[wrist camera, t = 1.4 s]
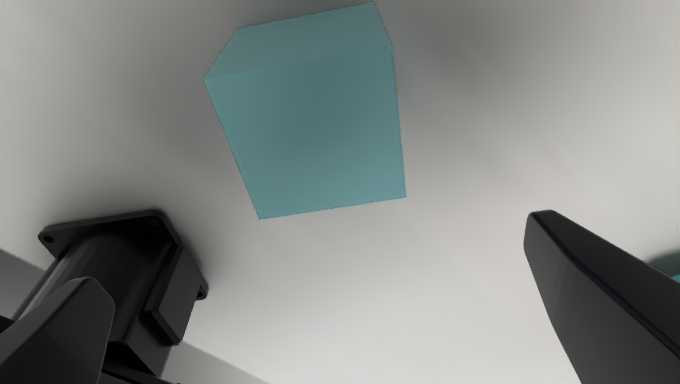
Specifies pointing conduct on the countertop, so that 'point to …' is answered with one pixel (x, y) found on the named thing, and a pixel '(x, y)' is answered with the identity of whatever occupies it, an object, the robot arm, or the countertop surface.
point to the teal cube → (311, 111)
